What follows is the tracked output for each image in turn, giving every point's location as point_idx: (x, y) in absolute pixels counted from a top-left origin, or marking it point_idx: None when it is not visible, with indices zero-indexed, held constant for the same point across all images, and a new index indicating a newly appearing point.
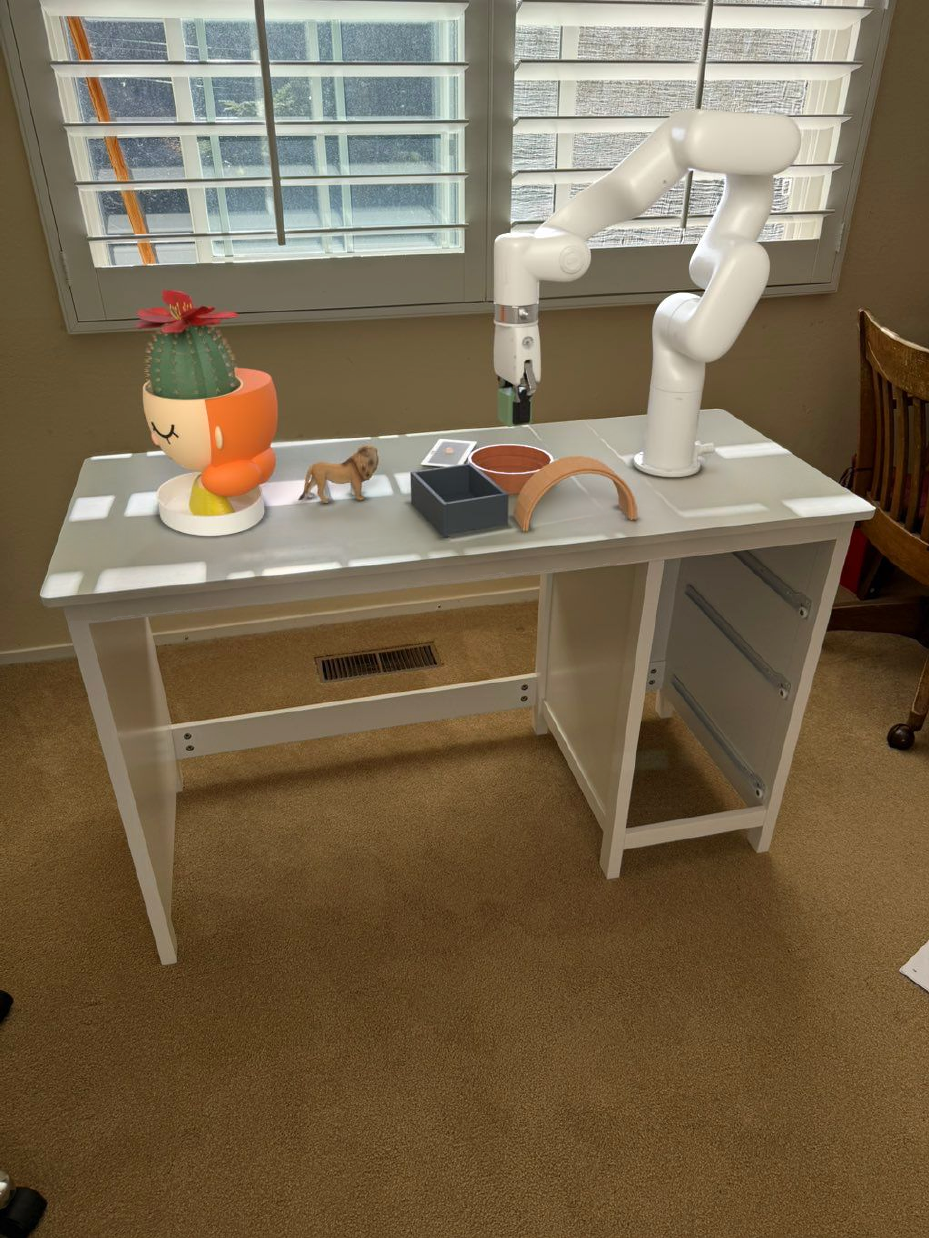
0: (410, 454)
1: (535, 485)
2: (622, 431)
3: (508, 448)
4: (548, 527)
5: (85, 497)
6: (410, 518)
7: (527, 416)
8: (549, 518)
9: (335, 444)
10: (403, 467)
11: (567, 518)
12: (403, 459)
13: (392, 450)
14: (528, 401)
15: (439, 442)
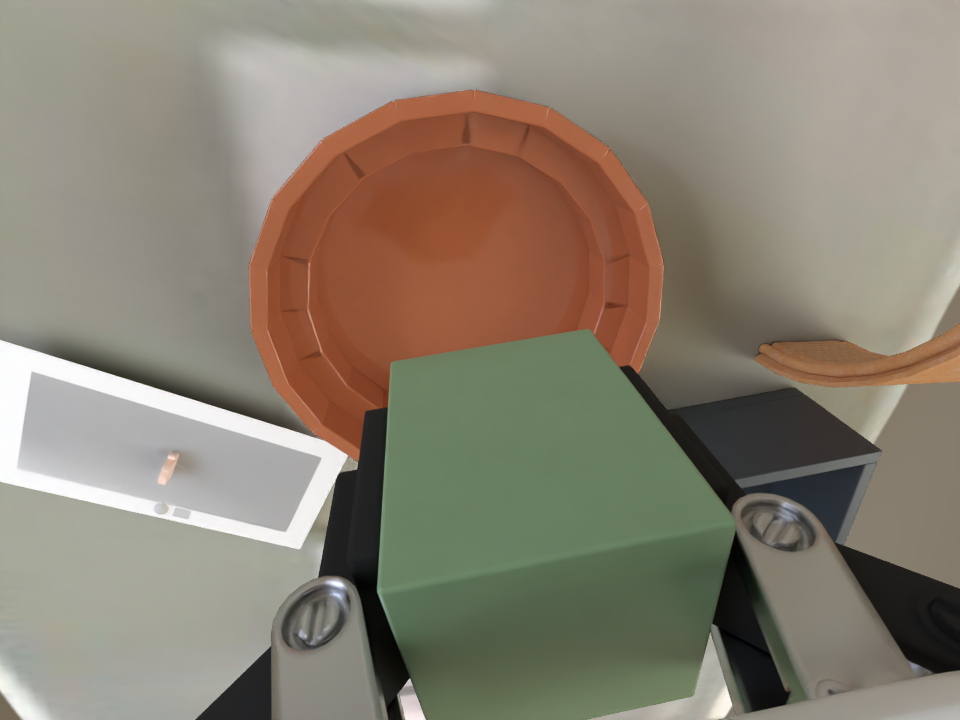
0: (142, 549)
1: (948, 379)
2: None
3: (271, 281)
4: (867, 279)
5: None
6: None
7: (683, 422)
8: (819, 254)
9: (56, 699)
10: (275, 569)
11: (856, 192)
12: (196, 567)
13: (101, 589)
14: (720, 496)
15: (32, 480)
